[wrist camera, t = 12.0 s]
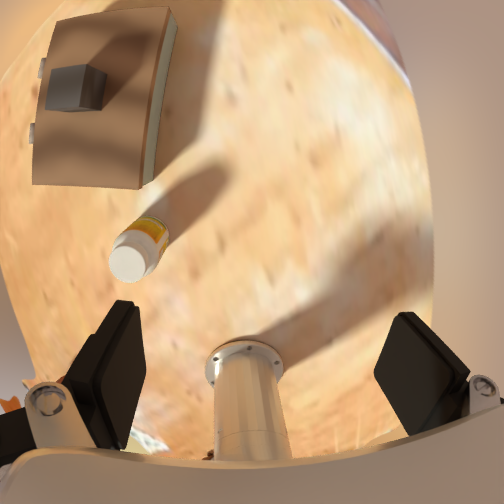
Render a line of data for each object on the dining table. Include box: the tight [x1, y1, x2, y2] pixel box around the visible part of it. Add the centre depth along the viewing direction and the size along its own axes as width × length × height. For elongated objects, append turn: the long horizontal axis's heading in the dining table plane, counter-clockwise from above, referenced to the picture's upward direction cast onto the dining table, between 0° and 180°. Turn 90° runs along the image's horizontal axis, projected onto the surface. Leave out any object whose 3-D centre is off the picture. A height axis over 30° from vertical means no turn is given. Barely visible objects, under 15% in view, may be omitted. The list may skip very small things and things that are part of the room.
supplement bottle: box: [109, 216, 169, 283], centre depth 31 cm, size 5×5×10 cm
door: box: [29, 7, 171, 190], centre depth 21 cm, size 20×15×6 cm
